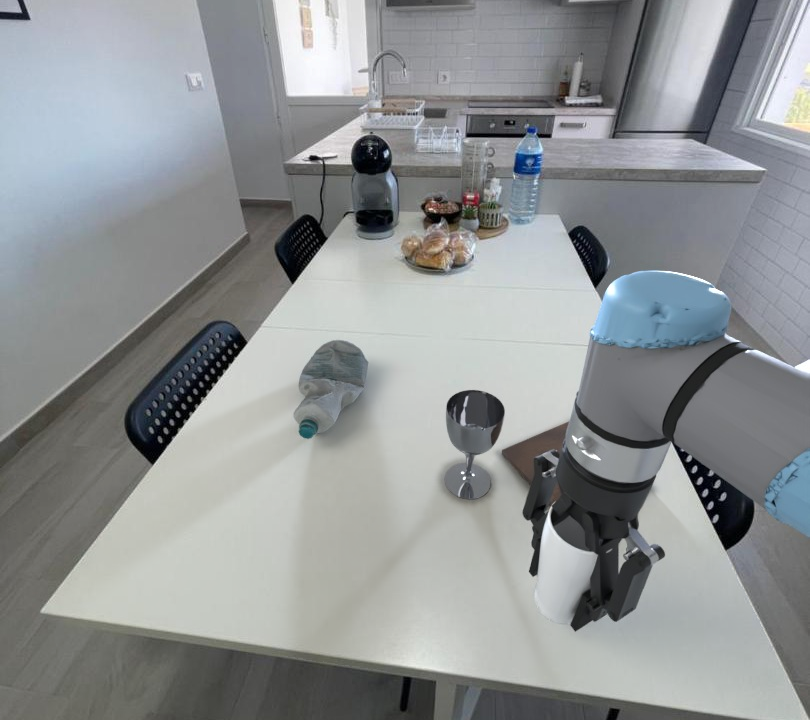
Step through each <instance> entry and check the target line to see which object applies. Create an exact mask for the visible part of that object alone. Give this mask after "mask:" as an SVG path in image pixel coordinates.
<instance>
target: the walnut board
mask: <svg viewBox="0 0 810 720" xmlns="http://www.w3.org/2000/svg"><path fill="white" fill-rule="evenodd" d="M568 424H569V421H567V422H564V423H562V424H560V425H557V426H555V427H552V428H550V429H547V430H545V431H543V432H541V433H538V434H536V435H534V436H531V437H528V438H527V439H524V440H522V441H520V442H518V443H517V442H516V443H515V444H512V445H510V446H508V447H506V448H503V449H501V455H502V456H503V457H504V459H505V460H506V461H507V463H509V464H510V465H511V466H512V467H513V468H514V470H515V471H516V472H517V473H518V474H519V476H521V477H522V478H523V479H524V481H526V482H527V484H528V485H529V486H531V483H532V480H533V477H534V458H535V457H537V456H540V455H542V454H544V453H546V452H548V451H551V450H553V449H554V450H556V451H557V452H558V453H559V455H560V453H561V449H562V446H563V442H564V440H565V438H566V432H567V428H568ZM560 496H561V492H560V488H559V485H558V481H557V483H556V486H555V488H554V491H553V494H552V496H551V499H550V502H549V504H548V507H549V508H550V507H551V506H552V504H553V503H554V502H555V501H557V500H558V499H559V498H560Z"/></svg>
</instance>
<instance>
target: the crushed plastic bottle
mask: <svg viewBox="0 0 810 720" xmlns="http://www.w3.org/2000/svg"><path fill="white" fill-rule="evenodd" d="M368 367H369V361H368V360H367V358H366V356H365V354H364V352H363V351H362V349H361V348H360V347H358V346H357V345H356V344H354V343H352V342H350V341H348V340H344V339H334V340H330V341H327V342H325V343H323V344H322V345H321V346H319V348H317V350H315V351H314V353H313V354H312V356H311V357H310V359H309V360H308V361H307V363H305V365H304V367H303V368H302V370H301V372H300V375H299V379H298V391H299V393H300V394H301V396H303V400H302V401H301V402H300V403H299V404H298V406H297V407H296V408H295V410H294V412H293V413H292V417H293V419H294V421H295V422H296V423H297V424H298V434H299V436H300V437H301V438H303V439H312V438H313V437H314V436H315V435H317V434H320V433H325V432H326V431H328V430H329V429H331V427H333V426H334V425H335V423H336V421H337V420H338V418H339V416H340V413H341V411H343V409H344V408H346V407H347V406H349V405H351V404H353V403H354V402H355V401H356V399H357V398H358V397H359V395H360V394H361V393H362V391H363V390H364V389H365V387H366V380H367V372H368Z"/></svg>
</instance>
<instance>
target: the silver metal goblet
mask: <svg viewBox="0 0 810 720" xmlns="http://www.w3.org/2000/svg"><path fill="white" fill-rule="evenodd" d="M445 409H446V410H445V424H446V425H445V426H446V432H447V435H448V438H449V441H450V443H451V444H452V446H454V448H455V449H456V450H458V451H459V452H460V453H462V454H464V456H465V462H459V463H458V462H457V463H456V464H454V465H451V466H450V467H449V468H448V470H446V472H445V475H444V484H445V487H446V488H447V490H448V491H449V492H450V493H451V494H452V495H454V496H456V497H457V498H460V499H463V500H476V499H479V498H482V497H484V496H485V495H486V494H487V493H488V492H489V491H490V488H491V482H492V481H491V477H490V475H489V473H488V472H487V471H486V470H485V469H484V468H483V467H482V466H479V465H478V464H475V463H474V459H475V458H476V457H477V456H480V455H483V454H485V453H487V452H489V451H490V450H492V449H493V448H494V446H495V445H496V443H497V441H498V440H499V437H500V436H501V432H502V429H503V425H504V421H505V416H506V415H505V414H506V411H505V410H506V409H505V406H504V404H503V402H502V401H501V399H499V398H498V397H497V396H495V395H493V394H492V393H489V392H487V391H483V390H479V389H467V390H462V391H458V392H455V394H453V395H452V396H450V398H449V399H448V401H447V403H446V407H445Z"/></svg>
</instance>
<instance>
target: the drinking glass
mask: <svg viewBox="0 0 810 720" xmlns="http://www.w3.org/2000/svg"><path fill="white" fill-rule="evenodd" d="M555 502H556V501H555ZM555 502H554V503H555ZM554 503H553V504H554ZM553 504H552V505H553ZM552 511H553V508H552V506H551V507H550V506H549V508H548V510H547V512H548V515H547V518H546V521H545V524H544V528H543V532H542V537H541V544H540V554H539V564H538V573H537V575H536V583H535V587H534V590H533V592H534V593H533V599H534V602H535V605H536V608H537V609H538V611H539V612H540V614H542V616H544V617H545V618H546V619H547V620H549V621H550V622H552V623H555V624H558V625H570V624H571V622H572V619H573V617H574V615H575V612H576V610H577V607H578V605H579V602H580V600H581V597H582V595H583V594H584V593H585V592H587V591H588V590H590V577H591V575H592V572H593V570H594V567H595V564H596V560H597V557H598V555H597V554H596V553H594V552H590V551H589V548H588V547H586V545H585V531H584V529H583V528H582V527H581V525H580V524H579V523H578V522H577V521H576V520H574V519H573V518H572V517H571V516H570V515H569V516H568V517H567V518H566V519H565V520H563V521H562V522H560V523H559V524H557V525H555V526H553V525H552V522H551V514H552ZM611 550H612V549H610V550H608V551H607V552H606V553H608V552H610V551H611Z"/></svg>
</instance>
